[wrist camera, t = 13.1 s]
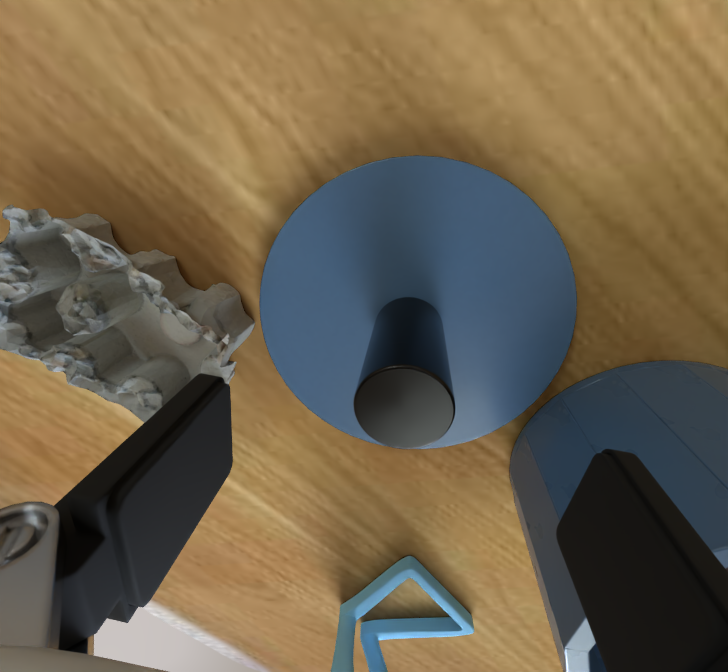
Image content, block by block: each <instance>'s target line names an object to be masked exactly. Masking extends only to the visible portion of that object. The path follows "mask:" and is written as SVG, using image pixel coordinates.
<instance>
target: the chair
mask: <svg viewBox="0 0 728 672" xmlns="http://www.w3.org/2000/svg"><path fill="white" fill-rule="evenodd" d="M407 578H412V579H414V580H415V581H416V582H417V583H418V584H419V585H420V586H421V587H422V588H423V589H424V590H425V591H426V592H427V593H428V594H429V595H430V596H431V597H432V598H433V599H434V600H435V601H436V602H437V604H438V605H439V606H440V607H441V608H442V609H443V610H444V611H445V612H446V613H447V614H448V615H449V616H450V617H435V618H403V619H381V620H371V621H366V622H363V623H361V634H360V639H361V643H362V646H363V650H364V653H365V657H366V660H367V664H368V667H369V671H370V672H388V671H387V668H386V665H385V662H384V658H383V655H382V652H381V649H380V646H379V640H384V639H399V638H424V637H448V636H461V635H468V634H472V633H473V632H474V626H473V620H472V616H471V614H470V613H469V612H468V611H467V610H466V609H465V608H464V607H463V606H462V605H461V604H460V603H459V602H458V601H457V600H456V599H455V598H454V597H453V596H452V595H451V594H450V593H449V592H448V591H447V590H446V589H445V588H444V587H443V586H442V585H441V584H440V583H439V582H438V581H437V580H436V579H435V578H434V577H433V576H432V575H431V574H430V573H429V572H428V571H427V570H426V569H425V568H424V567H423V566H422V565H421V564H420V563H419V562H418V560H417V559H416V558H414V557H412V556H407V557H405V558H403V559H401V560H399V561H398V562H396V563H395V564H394V565H392V566H391V567H390V568H389V569H387V570H386V571H385V572H384V573H382V574H381V575H380V576H379V577H378V578H376V579H375V580H374V581H373V582H372V583H370V584H369V585H368V586H367V587H366V588H364V589H363V590H362V591H361V592H359V593H358V594H357V595H355V596H354V597H352V598H351V599H350V600H348V601H346V602H345V603H343V604H342V605H341V606H340V614H339V624H338V632H337V639H336V645H335V652H334V657H333V663H332V668H331V672H354V667H353V648H354V635H355V625H356V621H357V620H358V619H359V618H360V617H361V616H363V615H364V614H365V613H367V612H368V611H369V610H370V609H371V608H373V607H374V606H375V605H376V604H377V603H379V602H380V601H381V600H382V599H383V598H384V597H386V596H387V595H388V594H389V593H390V592H391V591H393V590H394V589H395V588H396V587H397V586H398V585H400V584H401V583H402V582H403V581H405V580H406V579H407Z"/></svg>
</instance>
